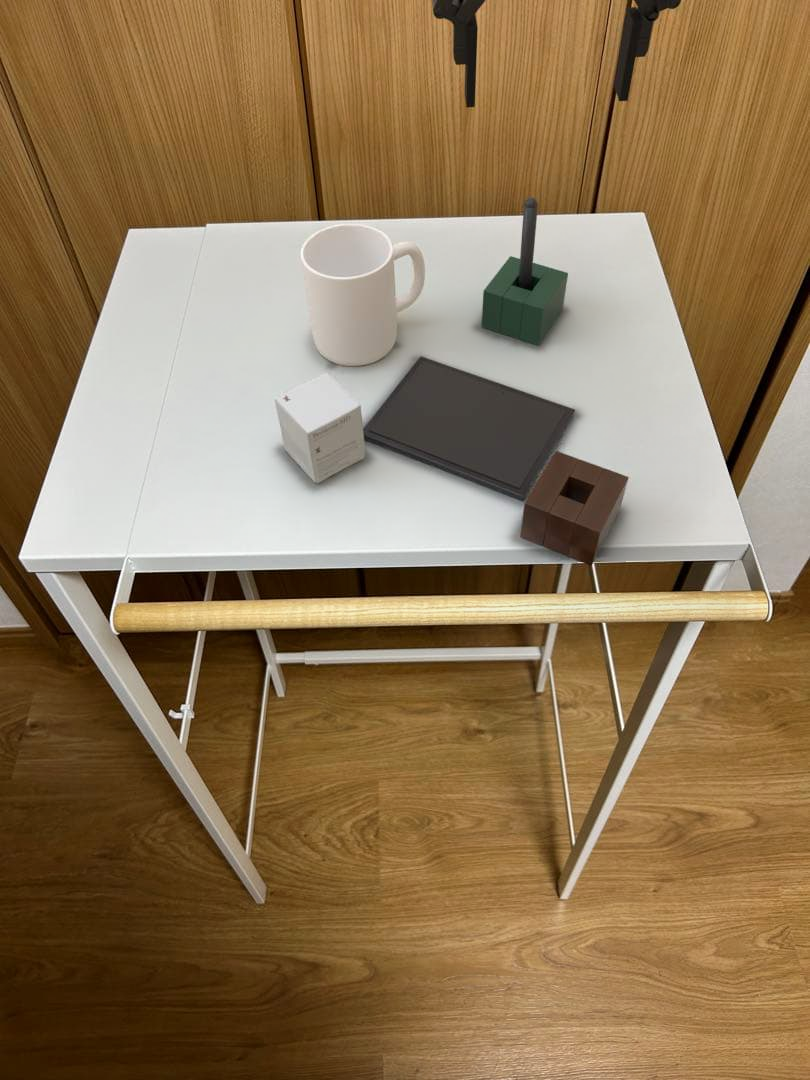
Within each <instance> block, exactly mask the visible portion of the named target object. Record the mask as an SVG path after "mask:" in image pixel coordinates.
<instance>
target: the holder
mask: <svg viewBox="0 0 810 1080" xmlns="http://www.w3.org/2000/svg"><path fill="white" fill-rule="evenodd" d="M629 478H630V477H629V476H628V475H624V474H621V473H618V472H616V471H613V470H611V469H607V468H605V467H602V466H599V465H597V464H593V463H591V462H589V461H586V460H583V459H579V458H578V457H574V456H572V455H570V454H567V453H564V452H561V451H559V450H555V451H554V452H553V455H552V456H551V458H550V459H549V461H548V463H547V464H546V466H545V467H544V470H543V471H542V473H541V474H540V477H538V479H537V481H536V482H535V485H534V487H533V488H532V490H531V492H529V495H528V497H526V500H525V502H524V505H523V512H522V520H521V527H520V534H519V537H520V538H522V539H524V540H526V541H529V542H532V543H534V544H536V545H539V546H542V547H544V548H546V549H549V550H552V551H554V552H555V553H559V554H561V555H564V556H566V557H568V558H571V559H574V560H576V561H577V562H581V563H583V564H586V565H588V566H590V567H592V566H593V564H594V562H595V560H596V558H597V556H598V554H599V553H600V550H601V549H602V547H603V544H604V543H605V540H606V538H607V537H608V535H609V532H610V530H611V529H612V526H613V525H614V523H615V521H616V519H617V518H618V515H619V513H620V510H621V507H622V502H623V499H624V496H625V492H626V488H627V486H628V482H629Z"/></svg>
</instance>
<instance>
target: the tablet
mask: <svg viewBox="0 0 810 1080" xmlns="http://www.w3.org/2000/svg"><path fill="white" fill-rule="evenodd" d="M575 412H576V409H574V408H572V407H568V406H567V405H563V404H560V403H557V402H555V401H551V400H548V399H546V398H542V397H540V396H538V395H534V394H532V393H528V392H526V391H523V390H520V389H517V388H514V387H511V386H509V385H505V384H503V383H500V382H496V381H494V380H491V379H488V378H485V377H482V376H479V375H476V374H475V373H471V372H468V371H466V370H462V369H459V368H456V367H454V366H450V365H448V364H445V363H442V362H439V361H436V360H433V359H430V358H427V357H425V356H422V355H420V356H419V357H418V358H417V360H416V361H415V363H414V364H413V365H412V367H410V369H409V370H408V371H407V373H406V374H405V375H404V376H403V378H402V379H401V380H400V381H399V383H398V384H397V385H396V387H395V388H394V389H393V391H392V392H391V393H390V394H389V395H388V397H387V398H386V399H385V400H384V402H383V403H382V404H381V405H380V407H379V408H378V409H377V411H376V412H375V413H374V414H373V416H372V417H371V418H370V419H369V421H368V422H367V424H365V426H363V434H364V441H368V442H371V443H373V444H376V445H378V446H381V447H383V448H385V449H388V450H391V451H393V452H396V453H398V454H401V455H403V456H406V457H409V458H412V459H414V460H416V461H419V462H422V463H425V464H427V465H430V466H432V467H434V468H437V469H440V470H442V471H444V472H446V473H450V474H452V475H455V476H457V477H460V478H463V479H465V480H468V481H470V482H473V483H476V484H478V485H481V486H484V487H485V488H488V489H491V490H494V491H496V492H499V493H501V494H503V495H506V496H509V497H511V498H514V499H517V500H519V501H521V502H522V501H524V499H525V498H526V496H527V494H528V493H529V491H530V489H531V488H532V486H533V485H534V483H535V481H536V479H537V478H538V476H539V474H540V472H541V471H542V469H543V468H544V466H545V464H546V463H547V461H548V459H549V458H550V455H551V454H552V452H553V451H554V449H555V448H556V446H557V444H558V442H559V441H560V439H561V438H562V436H563V434H564V433H565V431H566V429H567V428H568V426H569V424H570V422H571V421H572V419H573V417H574V415H575Z"/></svg>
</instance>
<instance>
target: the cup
mask: <svg viewBox="0 0 810 1080" xmlns="http://www.w3.org/2000/svg"><path fill="white" fill-rule="evenodd" d="M404 256H409V257H410V259H411V261H412V266H413V281H412V283H411V286H410V288H409V290H408V291H406V293H404V294H403V295H401V296H400V297H397V295H396V294H397V293H396V275H395V261H396V260H399V259H400V258H402V257H404ZM300 262H301V268H302V274H303V281H304V289H305V295H306V302H307V307H308V316H309V322H310V328H311V333H312V339H313V343H314V346H315V348H316V349H317V351H318V352H319V354H321V356H322V357H324V358H325V359H326V360H328V361H329V362H332V363H334V364H337V365H339V366H345V367H359V366H366V365H371V364H373V363H376V362H378V361H379V360H381V359H383V358H384V357H386V356H387V355H388V354H389V353H390V351H392V349H393V347H394V345H395V343H396V341H397V337H398V336H397V335H398V320H397V319H398V318H397V317H398V316H397V314H398V313H400V312H402V311H404V310H406V309H408V308H409V307H411V306H412V305H413V304H414V303H415V302H416V301H417V300H418V298H419V297H420V295H421V293H422V291H423V288H424V285H425V279H426V264H425V260H424V255H423V253H422V251H421V249H420V247H419V246H418V245H417V244H415V243H414V242H411V241H400V242H397V243H394V244H393V241H392V240H391V238H390V237H389V236H388V235H387V234H386V233H385V232H383V231H381V230H380V229H378V228H376V227H373V226H370V225H366V224H361V223H340V224H335V225H331V226H328V227H324V228H322V229H320V230H318V231H316V232H313V234H311V235H310V236H309V237H308V238H307V239H306V240H305V241H304V242H303V245H302V246H301V249H300ZM396 297H397V298H396Z"/></svg>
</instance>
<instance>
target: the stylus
mask: <svg viewBox="0 0 810 1080" xmlns="http://www.w3.org/2000/svg"><path fill="white" fill-rule="evenodd" d="M538 207H539V203H538V200H537V199H536V198H535V197H528V198H526V200H525V201H524V203H523V212H522V213H523V216H522V228H521V241H520V242H521V243H520V254H519V259H520V267H519V281H518V287H519V288H523V289H526V290H529V291H531V279H532V268H533V263H534V254H535V243H536V231H537V222H538V221H537V219H538V210H539V209H538Z"/></svg>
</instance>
